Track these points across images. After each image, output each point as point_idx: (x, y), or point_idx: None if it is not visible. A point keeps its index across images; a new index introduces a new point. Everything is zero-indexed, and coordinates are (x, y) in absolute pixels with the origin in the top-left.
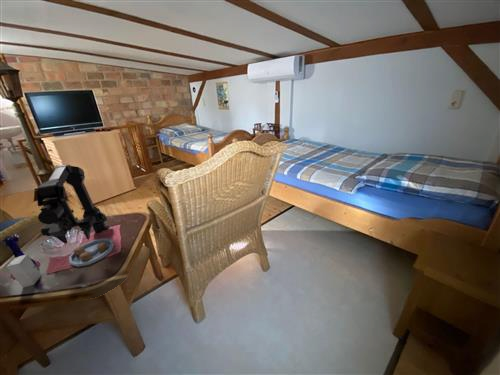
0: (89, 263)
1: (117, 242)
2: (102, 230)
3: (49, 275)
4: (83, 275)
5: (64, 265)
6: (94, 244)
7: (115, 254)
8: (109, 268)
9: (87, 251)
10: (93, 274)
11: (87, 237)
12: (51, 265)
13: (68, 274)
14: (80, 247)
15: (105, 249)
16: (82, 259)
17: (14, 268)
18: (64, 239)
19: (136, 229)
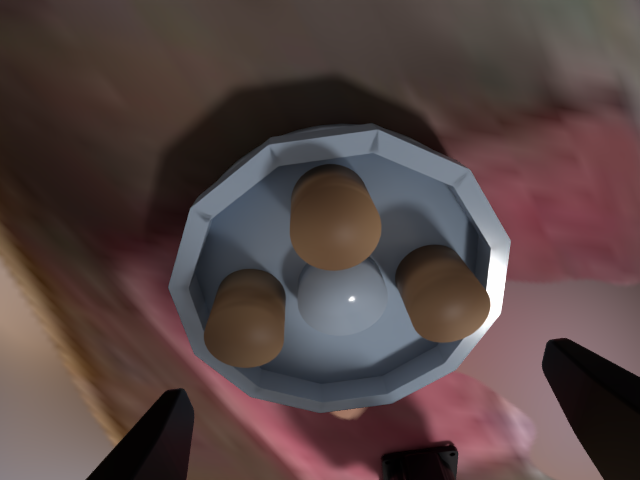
0: (267, 141)
1: None
2: (401, 472)
3: (605, 73)
4: (264, 9)
5: (522, 182)
6: (380, 363)
7: (137, 249)
8: (47, 70)
9: (332, 269)
10: (162, 4)
11: (133, 436)
12: (631, 198)
13: (430, 54)
14: (440, 329)
15: (217, 295)
16: (340, 179)
17: None
18: (610, 427)
19: None
